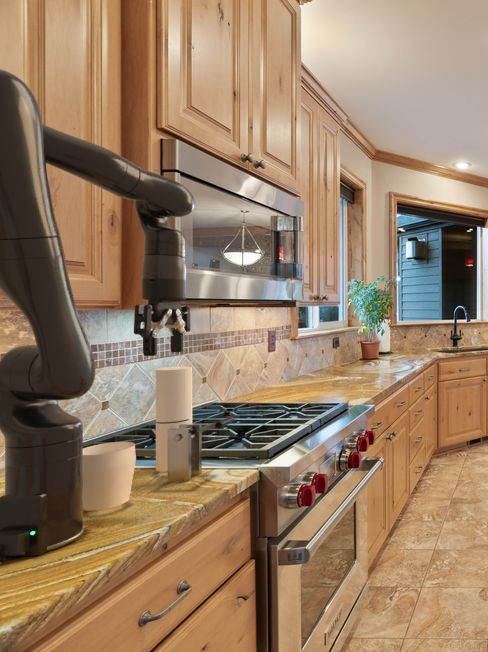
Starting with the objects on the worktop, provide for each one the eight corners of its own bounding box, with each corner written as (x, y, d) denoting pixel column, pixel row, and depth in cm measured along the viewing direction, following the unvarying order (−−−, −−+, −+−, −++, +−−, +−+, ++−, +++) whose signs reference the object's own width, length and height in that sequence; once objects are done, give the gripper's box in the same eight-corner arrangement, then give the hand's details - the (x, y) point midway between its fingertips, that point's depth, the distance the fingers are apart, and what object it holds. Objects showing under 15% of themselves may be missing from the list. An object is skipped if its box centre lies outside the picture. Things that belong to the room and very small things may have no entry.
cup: (91, 502, 94) (91, 443, 94) (144, 497, 97) (144, 440, 96) (63, 522, 85) (63, 457, 85) (122, 515, 88) (122, 452, 88)
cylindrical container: (148, 475, 109) (148, 369, 109) (177, 465, 116) (177, 365, 116) (170, 478, 107) (170, 370, 107) (199, 468, 114) (199, 367, 114)
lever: (236, 423, 108) (232, 413, 108) (223, 429, 102) (220, 419, 102) (187, 438, 107) (184, 428, 107) (172, 445, 102) (169, 434, 101)
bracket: (214, 475, 109) (214, 421, 109) (191, 490, 100) (191, 431, 100) (178, 476, 109) (178, 422, 108) (152, 491, 100) (152, 432, 100)
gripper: (168, 280, 105) (167, 351, 105) (120, 274, 91) (119, 357, 91) (202, 280, 106) (202, 351, 106) (160, 275, 92) (159, 357, 92)
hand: (163, 353), depth 98 cm, fingers open, 8 cm apart
